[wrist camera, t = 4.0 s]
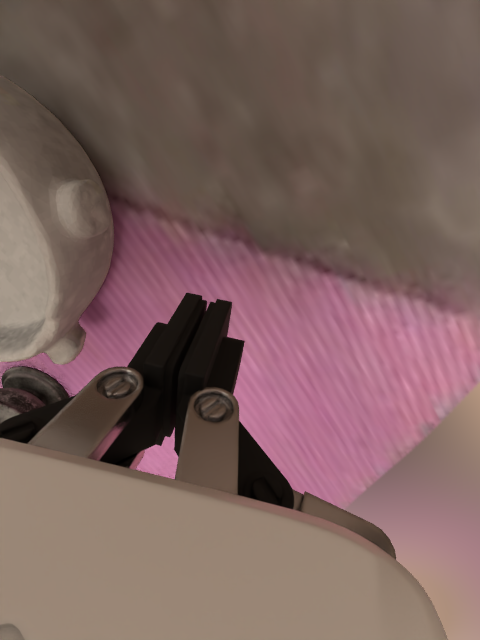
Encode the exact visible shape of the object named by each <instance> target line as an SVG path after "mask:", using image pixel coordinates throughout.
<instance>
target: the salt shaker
mask: <svg viewBox="0 0 480 640" xmlns="http://www.w3.org/2000/svg"><path fill="white" fill-rule="evenodd" d="M2 385H3V388H0V422H3V421H5V420H7V419H9V418H11V417H13V416H16V415H19V414H22V413H25V412H28V411H31V410H34V409H37V408H40V407H43V406H46V405H49V404H52V403H55V402H58V401H61V400H64V399H67V398H69V397H68V395H67V393H66V391H65V390H64V389H63V387H62V386H61V385H60V384H59V383H58V382H57V381H55V380H54V379H53V378H51V377H50V376H48V375H47V374H45V373H43V372H40V371H38V370H36V369H32V368H29V367H20V366H19V367H12V368H10V369H8V370H7V371H6V372H5V373H4V374H3V376H2Z"/></svg>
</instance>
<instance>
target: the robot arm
mask: <svg viewBox="0 0 480 640" xmlns="http://www.w3.org/2000/svg"><path fill="white" fill-rule="evenodd" d="M206 307H207V301H205V300H202V296H201V295H196V294H191V293H186V294H185V296H184V298H183V299H182V301H181V303H180V304H179V306H178V308H177V309H176V311H175V312H174V314H173V316H172V317H171V319H170V321H169V322H168V324H164V323H160V322H158V323H156V324H155V326H154V327H153V329H152V330H151V332H150V333H149V335H148V336H147V338H146V339H145V341H144V342H143V344H142V345H141V347H140V348H139V350H138V351H137V353H136V354H135V356H134V357H133V359H132V360H131V362H130V363H129V365H128V366H127V367H113V368H108V369H106V370H104V371H102V372H100V373H99V374H98V375H96V376H95V377H94V378H93V379H92V380H91V381H90V382H89V383H88V384H87V385H86V386H85V387H84V388H83V389H82V390H81V391H80V392H79V393H78V394H77V395H76V396H73V397H70V398H67V399H64V400H61V401H58V402H55V403H52V404H49V405H46V406H43V407H40V408H37V409H34V410H31V411H28V412H25V413H22V414H19V415H16V416H13V417H11V418H9V419H7V420H5V421H3V422H0V640H448V639H447V636H446V633H445V631H444V628H443V625H442V623H441V621H440V618H439V616H438V614H437V612H436V610H435V608H434V605H433V604H432V601H431V600H430V598H429V597H428V595H427V593H426V592H425V590H424V589H423V587H422V586H421V585H420V583H419V582H418V581H417V580H416V579H415V578H414V577H413V576H412V574H411V573H410V572H409V571H408V570H407V569H406V568H404V567H403V566H402V565H401V564H400V563H399V562H397V561H396V555H395V549H394V547H393V545H392V543H391V541H390V539H389V538H388V537H387V536H386V534H385V533H384V532H383V531H382V530H381V529H380V528H378V527H376V526H375V525H374V524H372V523H370V522H368V521H366V520H364V519H362V518H360V517H358V516H356V515H353V514H351V513H349V512H347V511H345V510H343V509H341V508H339V507H337V506H335V505H333V504H331V503H328V502H326V501H324V500H322V499H320V498H318V497H316V496H314V495H312V494H310V493H308V492H306V491H305V492H304V495H303V494H301V493H299V492H297V491H295V490H293V489H292V488H291V486H290V484H289V483H288V481H287V480H286V478H285V477H284V476H283V475H282V473H281V472H280V471H279V470H278V468H277V467H276V466H275V465H274V463H273V462H272V461H271V460H270V458H269V457H268V456H267V455H266V453H265V452H264V451H263V450H262V449H261V447H260V446H259V445H258V444H257V442H256V441H255V440H254V439H253V437H252V436H251V435H250V434H249V432H248V431H247V430H246V429H245V427H244V426H243V425H242V424H241V422H240V421H239V405H238V401H237V400H236V398H235V397H234V396H233V392H234V388H235V384H236V380H237V376H238V371H239V367H240V362H241V357H242V352H243V347H244V341H242V340H238V339H233V338H229V337H227V334H228V327H229V321H230V315H231V308H232V302H229V301H224V300H220V299H217V301H216V303H215V302H210V304H209V306H208V309H207V311H206ZM174 427H175V447H174V450H175V452H176V453H177V455H178V457H179V458H178V464H177V469H176V475H175V480H174V479H170V478H166V477H162V476H158V475H154V474H150V473H146V472H142V471H138V470H135V469H136V467H137V466H138V464H139V463H140V461H141V460H142V458H143V455H144V453H145V449H147V448H149V447H151V446H154V445H155V444H156V445H160V446H161V445H162V442H163V440H164V438H165V436H167V437H171V435H172V432H173V430H174Z"/></svg>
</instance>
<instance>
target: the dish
mask: <svg viewBox="0 0 480 640" xmlns="http://www.w3.org/2000/svg"><path fill="white" fill-rule="evenodd" d="M113 246H114V225H113V218H112V213H111V208H110V204H109V200H108V197H107V194H106V191H105V189H104V186H103V184H102V181H101V179H100V177H99V175H98V173H97V171H96V169H95V167H94V166H93V164H92V162H91V161H90V159H89V157H88V156H87V154H86V153H85V151H84V149H83V148H82V147H81V145H80V144H79V143H78V142H77V140H76V139H75V138H74V137H73V135H72V134H71V133H70V132H69V131H68V130H67V129H66V127H65V126H64V125H63V124H62V123H61V122H60V121H59V120H58V119H57V118H56V117H55V116H54V115H53V114H52V113H51V112H50V111H49V110H48V109H46V108H45V107H44V106H43V105H42V104H41V103H39V102H38V101H37V100H36V99H35V98H34V97H32V96H31V95H30V94H29V93H27V92H26V91H25V90H23V89H22V88H20V87H19V86H17V85H16V84H14V83H13V82H11V81H10V80H8V79H7V78H5V77H3V76H1V75H0V362H14V361H21V360H25V359H28V358H31V357H34V356H36V355H38V354H40V353H42V352H44V353H46V354H47V355H48V356H49V357H50V359H51V360H52V362H53V363H55V364H62V365H63V364H68V363H69V362H71V361H73V360H74V359H75V358H76V357H77V356H78V355H79V353H80V352H81V350H82V348H83V346H84V342H85V337H86V332H85V330H84V329H83V328H82V327H81V326H80V324H79V322H78V321H79V318H80V316H81V315H82V314H83V312H84V311H85V310H86V308H87V307H88V306H89V304H90V303H91V302H92V300H93V299H94V297H95V296H96V294H97V293H98V291H99V289H100V288H101V286H102V284H103V282H104V280H105V278H106V276H107V274H108V271H109V267H110V263H111V258H112V253H113Z"/></svg>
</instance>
